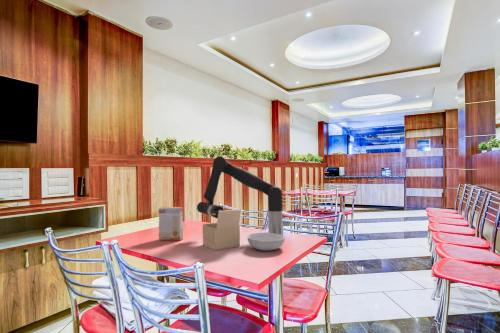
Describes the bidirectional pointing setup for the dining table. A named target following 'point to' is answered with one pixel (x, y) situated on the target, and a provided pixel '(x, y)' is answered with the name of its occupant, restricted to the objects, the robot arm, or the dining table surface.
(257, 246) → the serving bowl
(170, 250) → the dining table surface
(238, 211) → the carton flap
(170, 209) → the cracker box
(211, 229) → the carton
